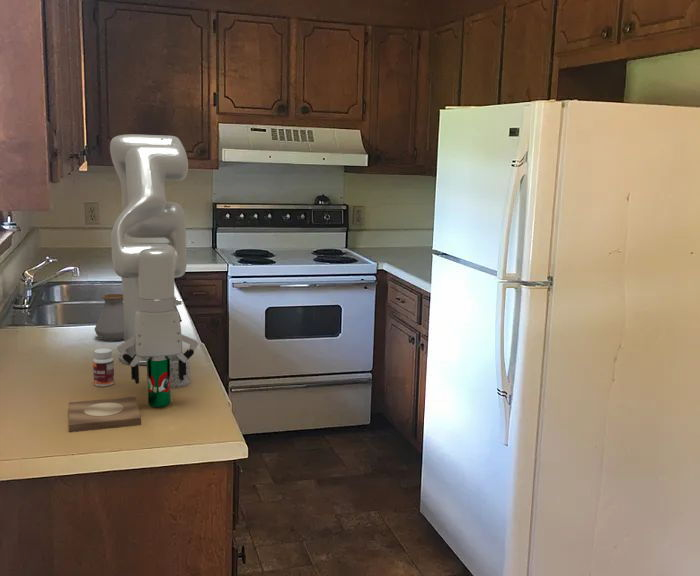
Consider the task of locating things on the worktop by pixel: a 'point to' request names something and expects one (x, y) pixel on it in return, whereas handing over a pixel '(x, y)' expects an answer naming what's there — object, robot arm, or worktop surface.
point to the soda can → (159, 381)
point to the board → (103, 414)
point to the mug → (175, 373)
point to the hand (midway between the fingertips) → (159, 380)
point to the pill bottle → (103, 367)
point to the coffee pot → (111, 318)
